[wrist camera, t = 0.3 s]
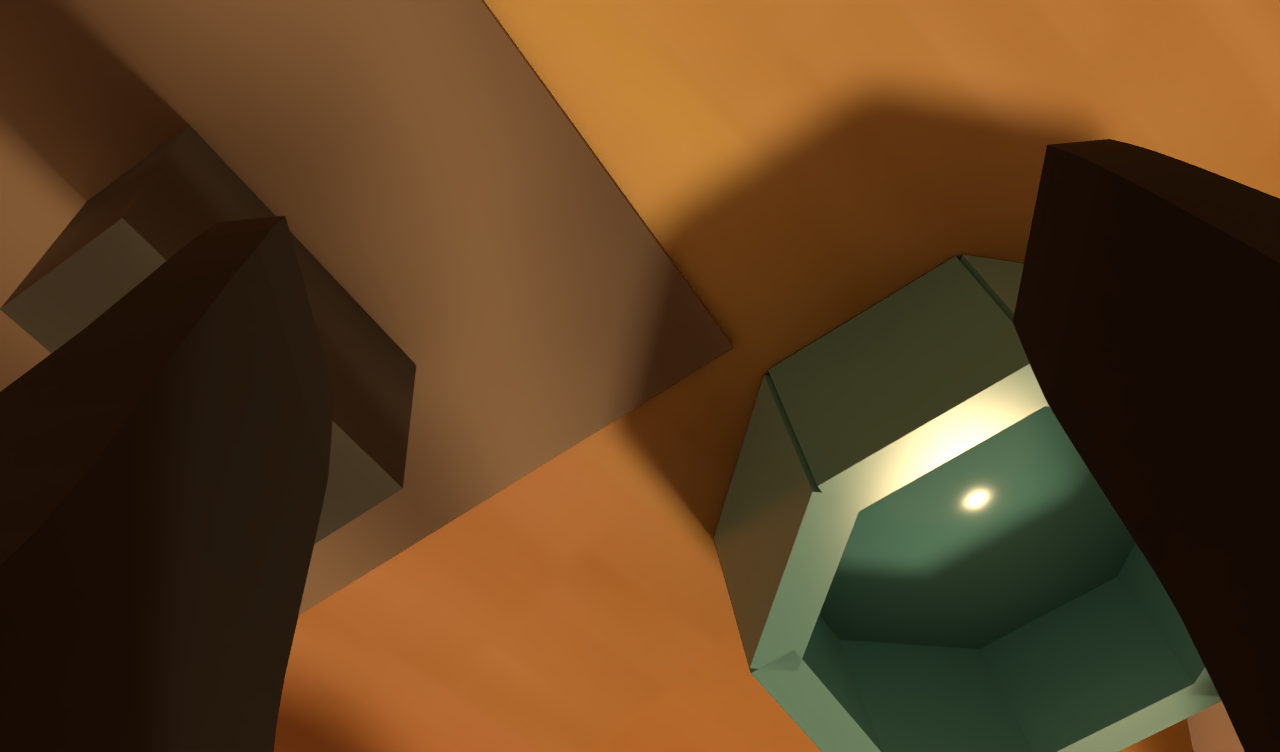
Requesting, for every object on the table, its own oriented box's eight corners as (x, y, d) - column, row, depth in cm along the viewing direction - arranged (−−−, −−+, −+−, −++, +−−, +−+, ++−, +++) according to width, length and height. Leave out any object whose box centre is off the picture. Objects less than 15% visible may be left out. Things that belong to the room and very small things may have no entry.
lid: (255, 621, 26) (210, 794, 21) (-279, 199, 19) (-487, 333, 15) (725, 328, 23) (776, 463, 19) (290, -276, 16) (225, -268, 12)
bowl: (862, 717, 29) (912, 851, 25) (636, 450, 23) (662, 575, 20) (1255, 512, 27) (1366, 630, 23) (1106, 164, 21) (1224, 251, 18)
